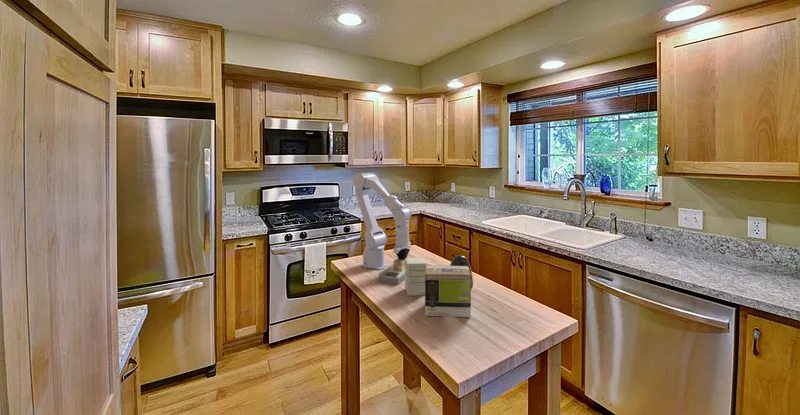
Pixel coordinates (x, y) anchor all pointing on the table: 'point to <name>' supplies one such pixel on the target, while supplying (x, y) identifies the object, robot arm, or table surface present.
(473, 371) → the table surface
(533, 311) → the table surface
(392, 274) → the trap lane
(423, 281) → the supplement box
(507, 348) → the table surface
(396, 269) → the maple block
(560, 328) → the table surface
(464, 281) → the tea box
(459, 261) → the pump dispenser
